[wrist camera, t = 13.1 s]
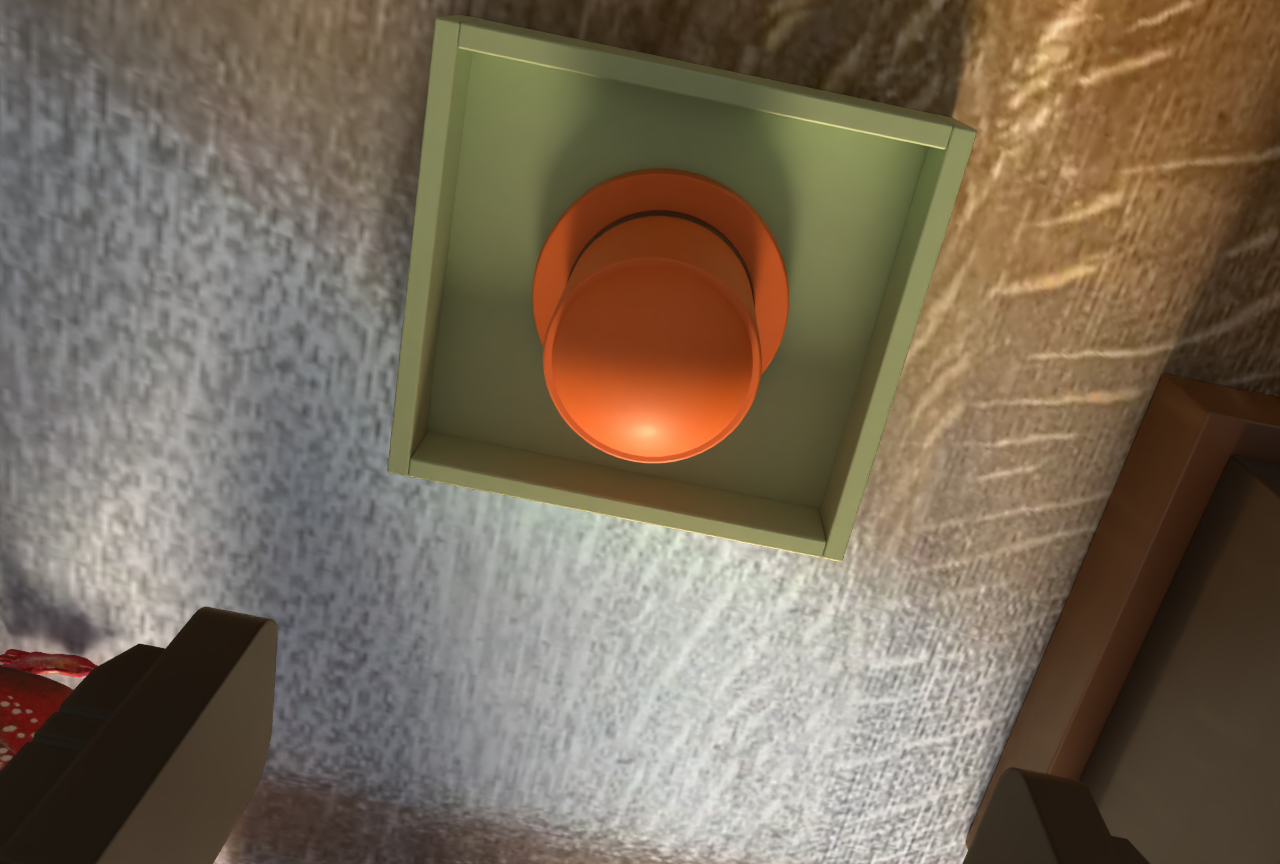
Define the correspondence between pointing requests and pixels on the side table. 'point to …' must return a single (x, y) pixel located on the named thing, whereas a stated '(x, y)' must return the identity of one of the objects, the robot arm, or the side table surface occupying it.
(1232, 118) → the side table surface
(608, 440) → the hat
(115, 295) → the side table surface
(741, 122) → the tray
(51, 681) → the red fish
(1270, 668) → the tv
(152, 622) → the side table surface
